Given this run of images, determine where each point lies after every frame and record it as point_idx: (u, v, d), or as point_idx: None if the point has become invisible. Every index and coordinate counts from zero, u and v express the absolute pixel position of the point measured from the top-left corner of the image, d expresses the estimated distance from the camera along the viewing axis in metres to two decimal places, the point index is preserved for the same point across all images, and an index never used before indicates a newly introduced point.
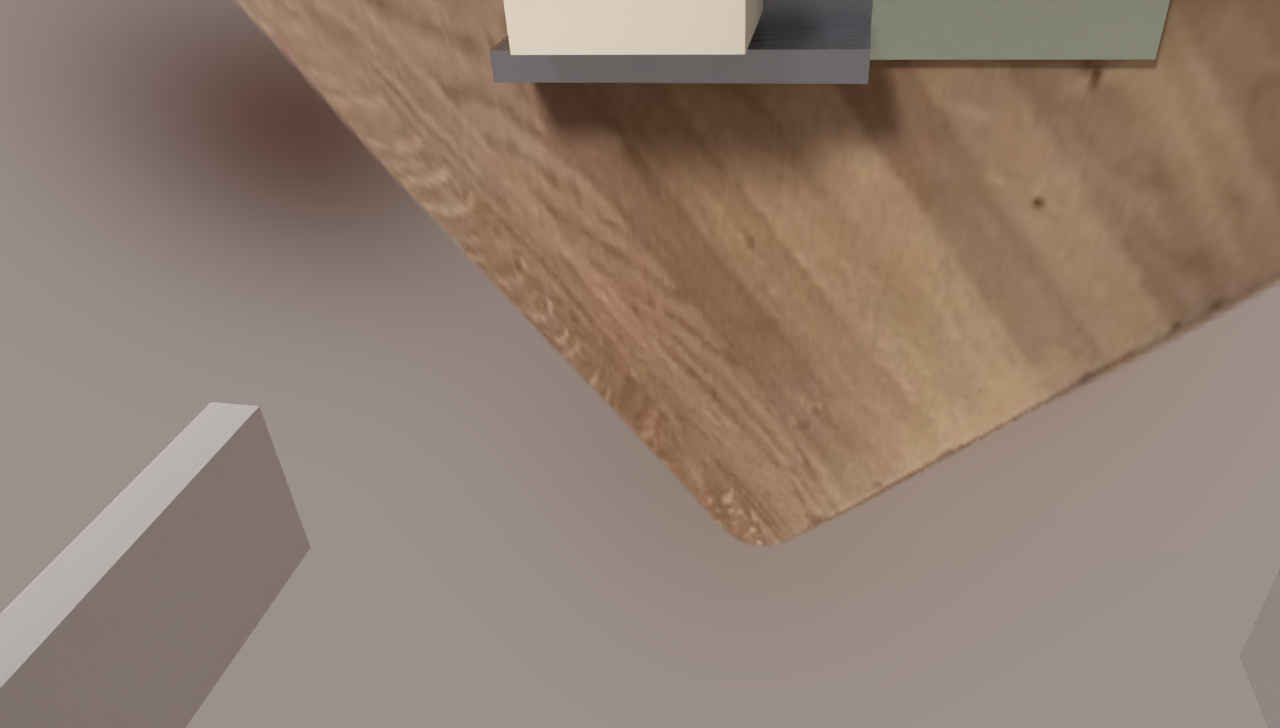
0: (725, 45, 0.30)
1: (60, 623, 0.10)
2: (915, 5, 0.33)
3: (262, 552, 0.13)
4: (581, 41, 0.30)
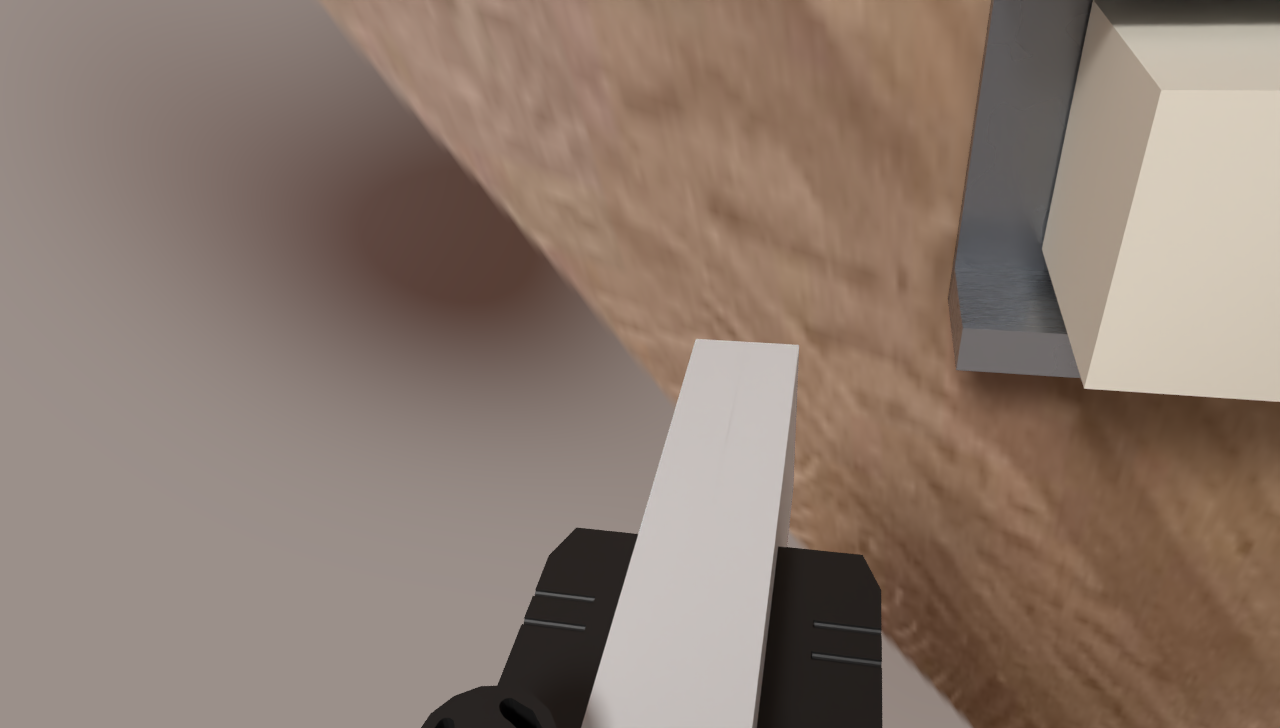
0: None
1: (705, 527, 0.10)
2: None
3: None
4: (1232, 380, 0.17)
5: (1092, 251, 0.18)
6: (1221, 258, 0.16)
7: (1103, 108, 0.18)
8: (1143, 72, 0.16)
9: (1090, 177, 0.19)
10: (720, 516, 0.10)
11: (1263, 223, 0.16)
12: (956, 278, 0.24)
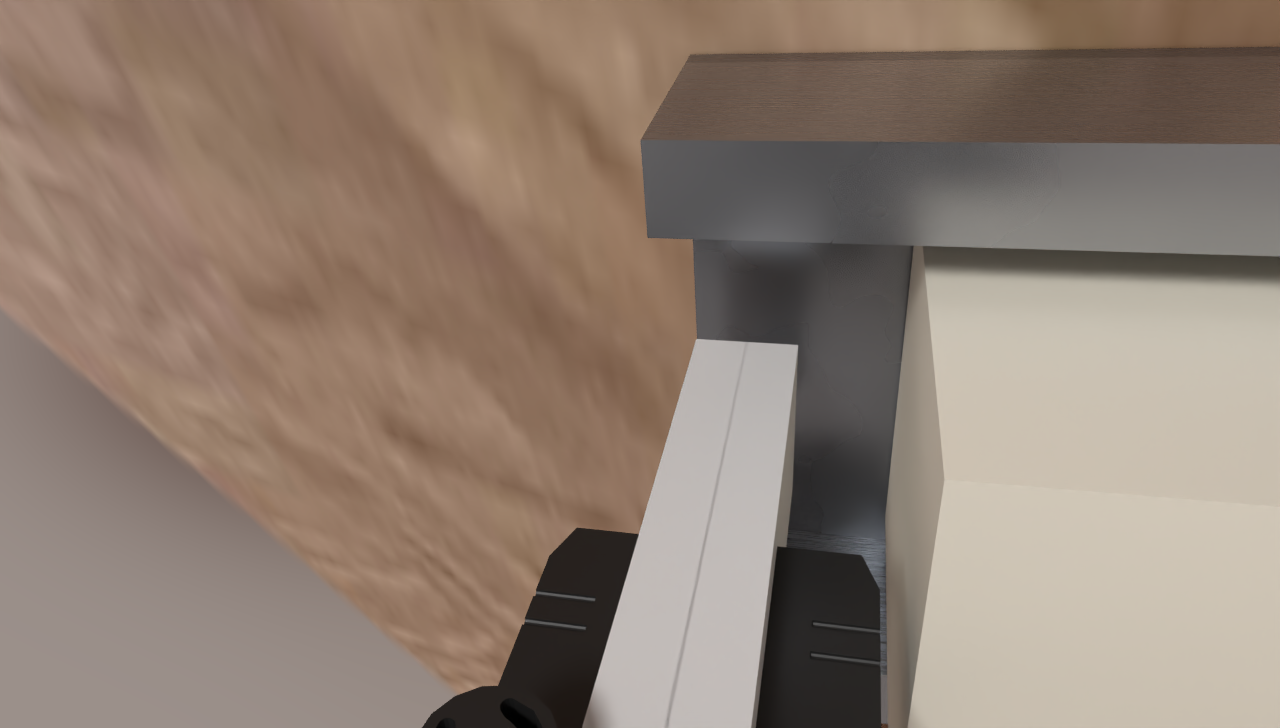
0: None
1: (706, 527, 0.10)
2: None
3: None
4: None
5: (902, 625, 0.11)
6: (1083, 718, 0.09)
7: (915, 398, 0.11)
8: (936, 405, 0.09)
9: (906, 491, 0.12)
10: (719, 516, 0.10)
11: (1149, 679, 0.09)
12: None
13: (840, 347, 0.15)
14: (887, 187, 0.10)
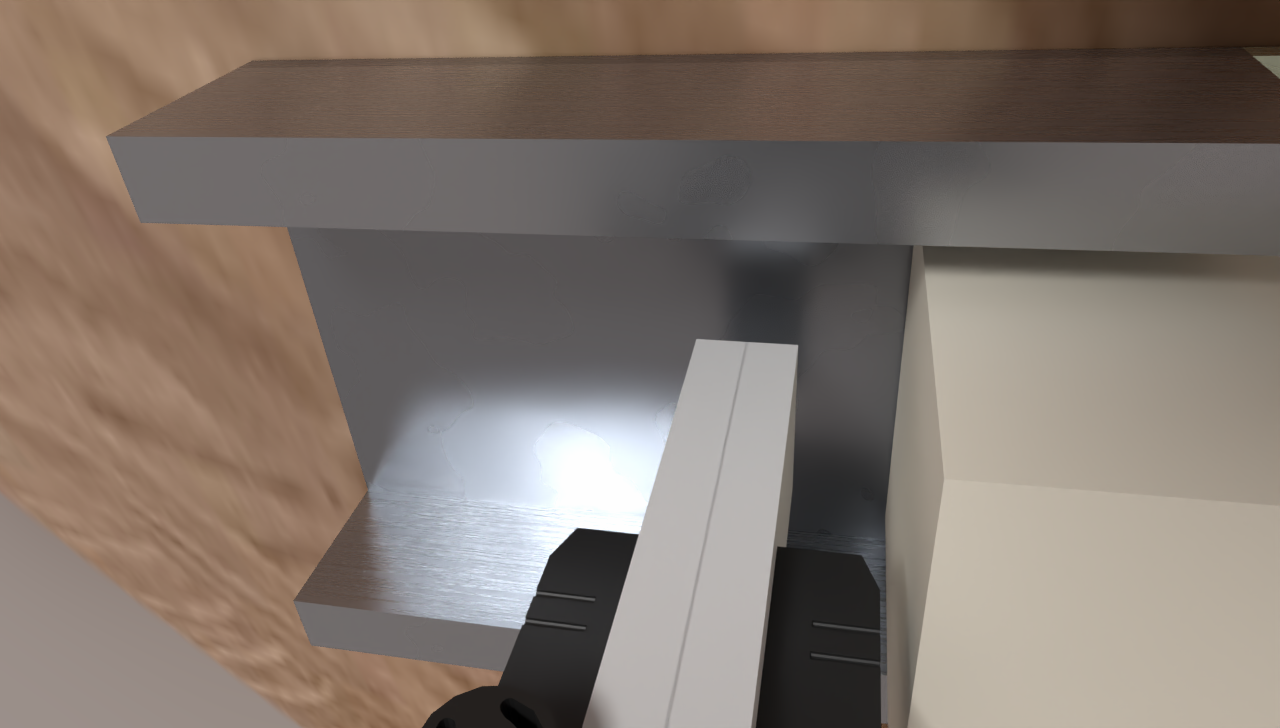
0: None
1: (706, 527, 0.10)
2: None
3: None
4: None
5: (902, 625, 0.11)
6: (1083, 717, 0.09)
7: (916, 397, 0.11)
8: (936, 404, 0.09)
9: (906, 491, 0.12)
10: (719, 516, 0.10)
11: (1149, 679, 0.09)
12: (356, 509, 0.18)
13: (434, 325, 0.16)
14: (307, 177, 0.11)
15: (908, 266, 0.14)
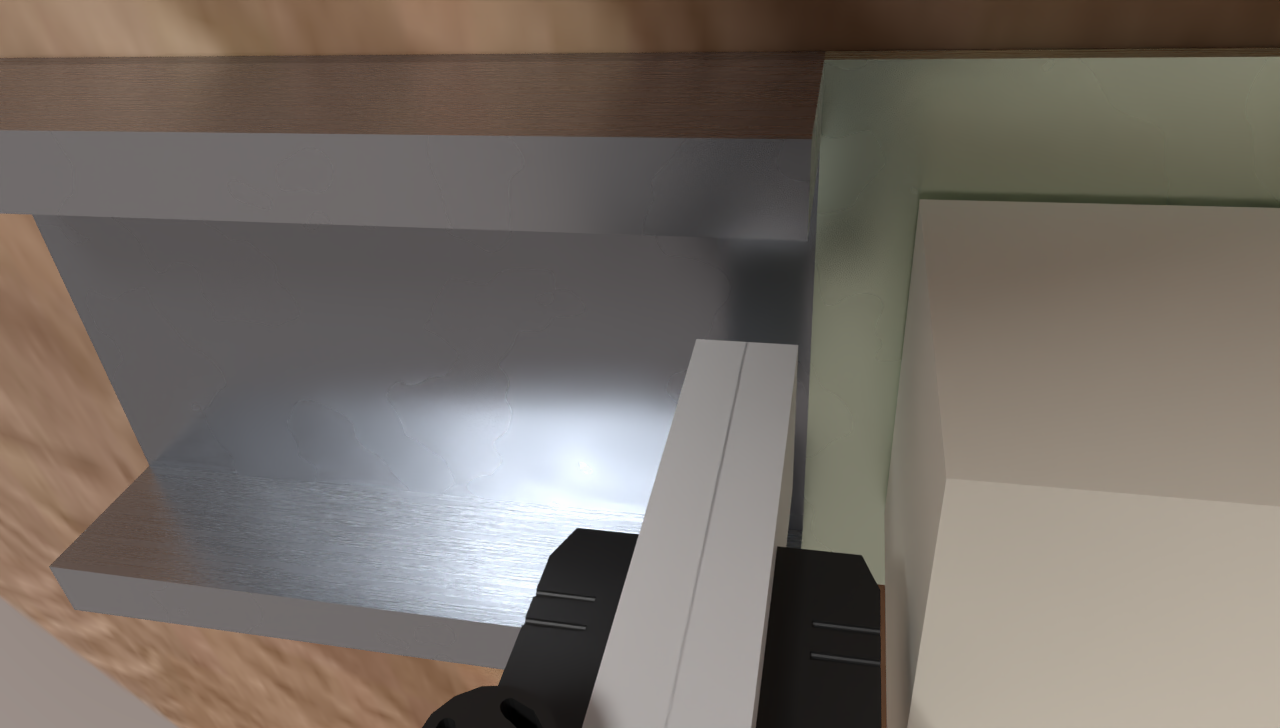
0: None
1: (706, 527, 0.10)
2: None
3: None
4: None
5: (901, 624, 0.11)
6: (1083, 717, 0.09)
7: (916, 397, 0.11)
8: (937, 403, 0.09)
9: (906, 490, 0.12)
10: (719, 516, 0.10)
11: (1149, 678, 0.09)
12: (133, 483, 0.19)
13: (178, 307, 0.17)
14: None
15: (575, 253, 0.15)
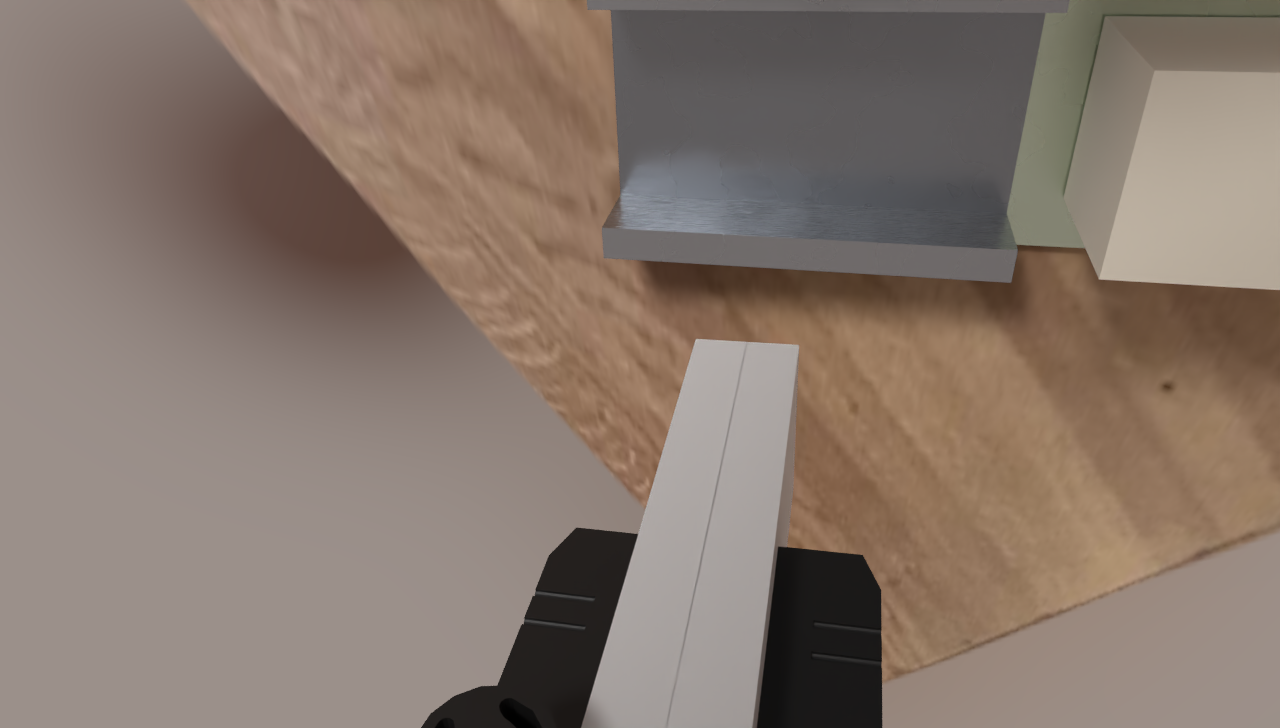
0: None
1: (706, 527, 0.10)
2: (1057, 194, 0.32)
3: None
4: (1199, 271, 0.26)
5: (1105, 186, 0.27)
6: (1191, 184, 0.25)
7: (1113, 88, 0.27)
8: (1142, 60, 0.24)
9: (1103, 137, 0.27)
10: (720, 516, 0.10)
11: (1219, 160, 0.24)
12: (617, 201, 0.35)
13: (678, 89, 0.32)
14: None
15: (915, 49, 0.30)
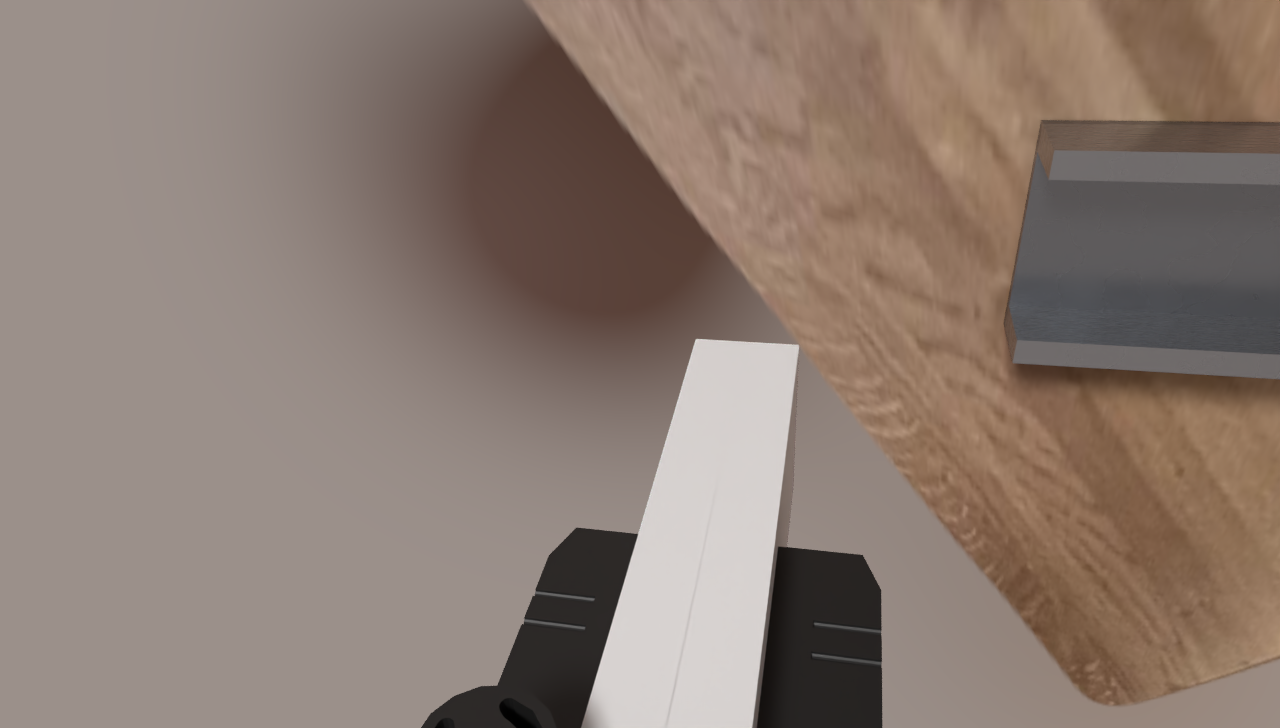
0: None
1: (706, 527, 0.10)
2: None
3: None
4: None
5: None
6: None
7: None
8: None
9: None
10: (720, 516, 0.10)
11: None
12: (1010, 312, 0.42)
13: (1080, 226, 0.40)
14: (1127, 164, 0.35)
15: None
